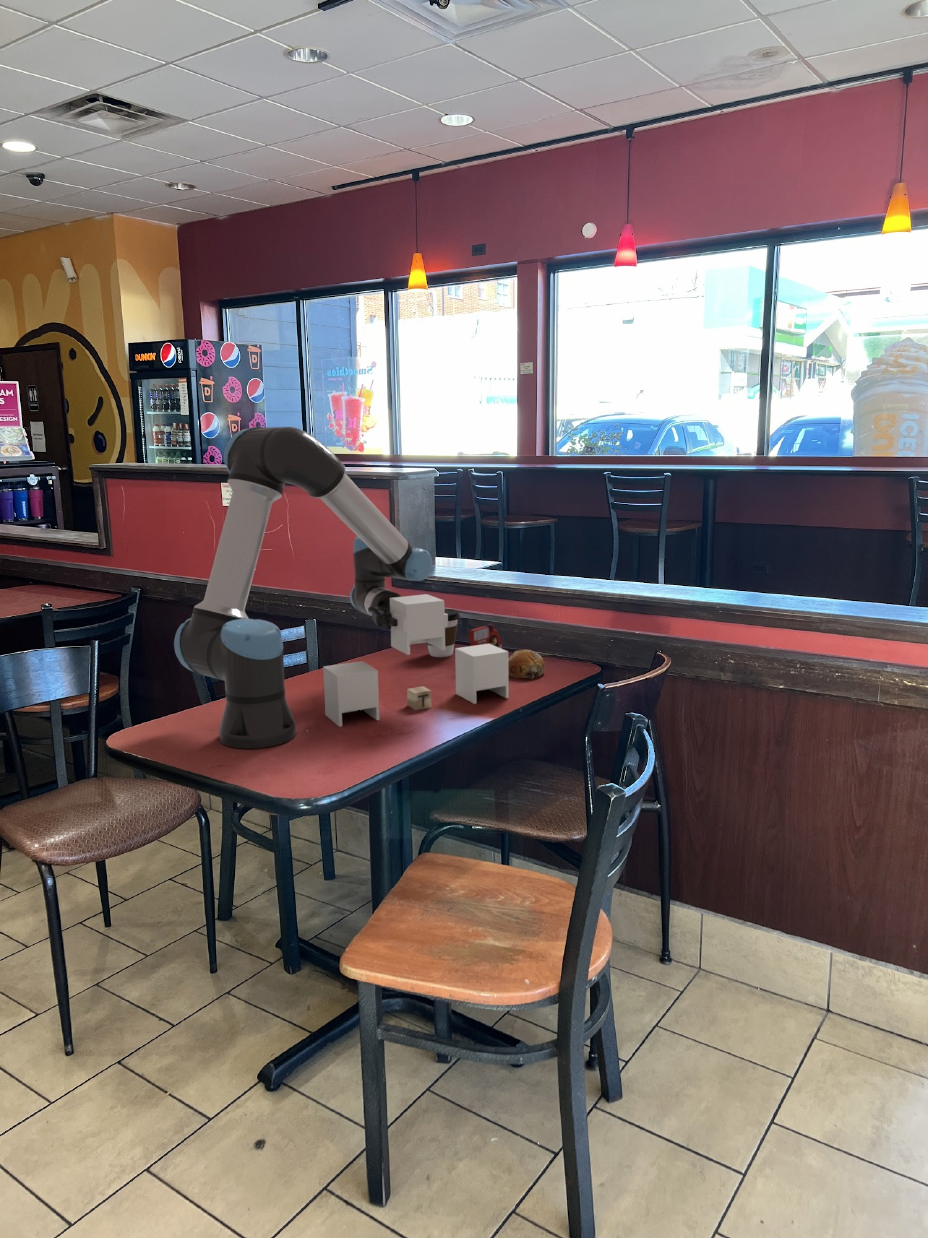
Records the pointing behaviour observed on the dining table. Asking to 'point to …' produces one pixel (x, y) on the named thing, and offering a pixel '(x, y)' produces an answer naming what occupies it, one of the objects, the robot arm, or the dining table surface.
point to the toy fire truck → (485, 636)
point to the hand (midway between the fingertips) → (426, 623)
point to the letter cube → (419, 698)
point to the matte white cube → (350, 690)
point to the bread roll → (525, 664)
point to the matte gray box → (481, 671)
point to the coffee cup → (447, 636)
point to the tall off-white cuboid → (418, 621)
